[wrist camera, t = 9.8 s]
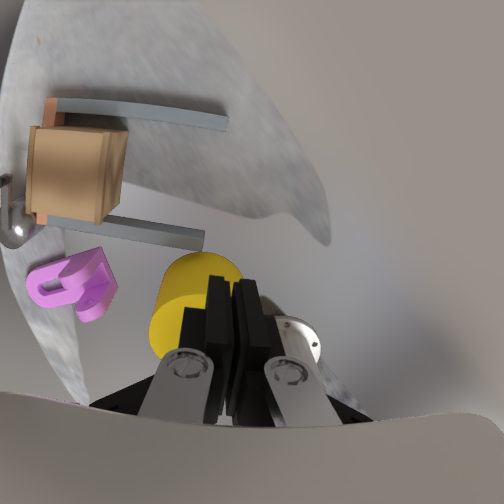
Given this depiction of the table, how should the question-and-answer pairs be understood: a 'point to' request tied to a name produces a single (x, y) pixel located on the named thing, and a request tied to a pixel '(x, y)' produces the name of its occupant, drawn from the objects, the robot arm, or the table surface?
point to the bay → (123, 225)
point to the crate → (75, 171)
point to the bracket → (76, 284)
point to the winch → (15, 217)
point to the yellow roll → (185, 295)
